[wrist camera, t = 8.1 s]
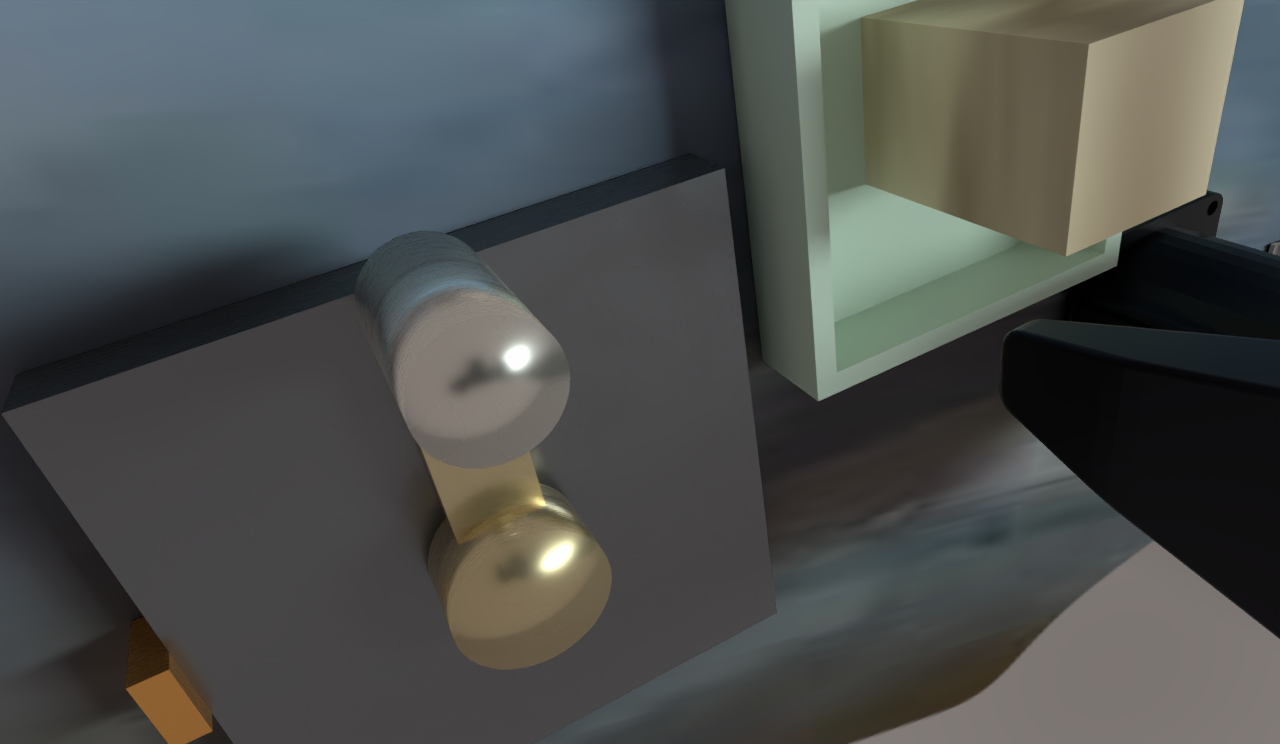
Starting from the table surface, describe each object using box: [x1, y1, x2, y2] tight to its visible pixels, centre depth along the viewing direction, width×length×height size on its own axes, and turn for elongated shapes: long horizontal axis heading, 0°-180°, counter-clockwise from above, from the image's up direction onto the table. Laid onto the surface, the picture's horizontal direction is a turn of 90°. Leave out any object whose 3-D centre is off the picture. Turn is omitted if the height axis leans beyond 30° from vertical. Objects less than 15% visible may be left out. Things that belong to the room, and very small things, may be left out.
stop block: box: [861, 0, 1244, 257], centre depth 18 cm, size 4×4×6 cm
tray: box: [725, 0, 1122, 401], centre depth 20 cm, size 10×12×2 cm
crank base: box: [1, 154, 777, 744], centre depth 20 cm, size 15×14×2 cm
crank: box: [355, 231, 612, 670], centre depth 16 cm, size 10×4×5 cm, turn 11°
